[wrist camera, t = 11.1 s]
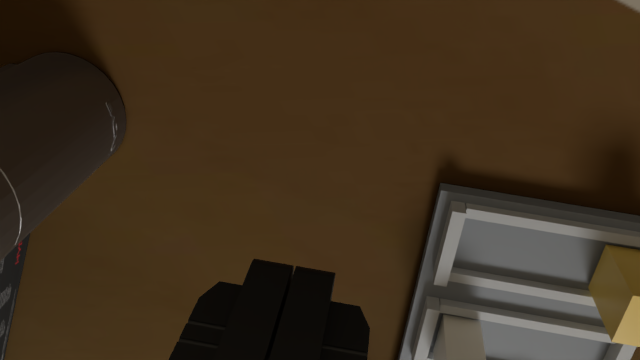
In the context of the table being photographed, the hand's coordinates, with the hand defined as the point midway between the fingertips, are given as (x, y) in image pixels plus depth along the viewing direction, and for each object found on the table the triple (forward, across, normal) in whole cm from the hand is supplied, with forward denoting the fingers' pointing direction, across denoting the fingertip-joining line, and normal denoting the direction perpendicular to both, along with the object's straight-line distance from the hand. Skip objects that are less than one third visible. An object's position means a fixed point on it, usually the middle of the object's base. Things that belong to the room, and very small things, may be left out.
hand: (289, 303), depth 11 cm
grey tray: (+32, -16, +25) cm, 44 cm away
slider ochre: (+31, -21, +17) cm, 41 cm away
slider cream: (+31, -11, +26) cm, 42 cm away
